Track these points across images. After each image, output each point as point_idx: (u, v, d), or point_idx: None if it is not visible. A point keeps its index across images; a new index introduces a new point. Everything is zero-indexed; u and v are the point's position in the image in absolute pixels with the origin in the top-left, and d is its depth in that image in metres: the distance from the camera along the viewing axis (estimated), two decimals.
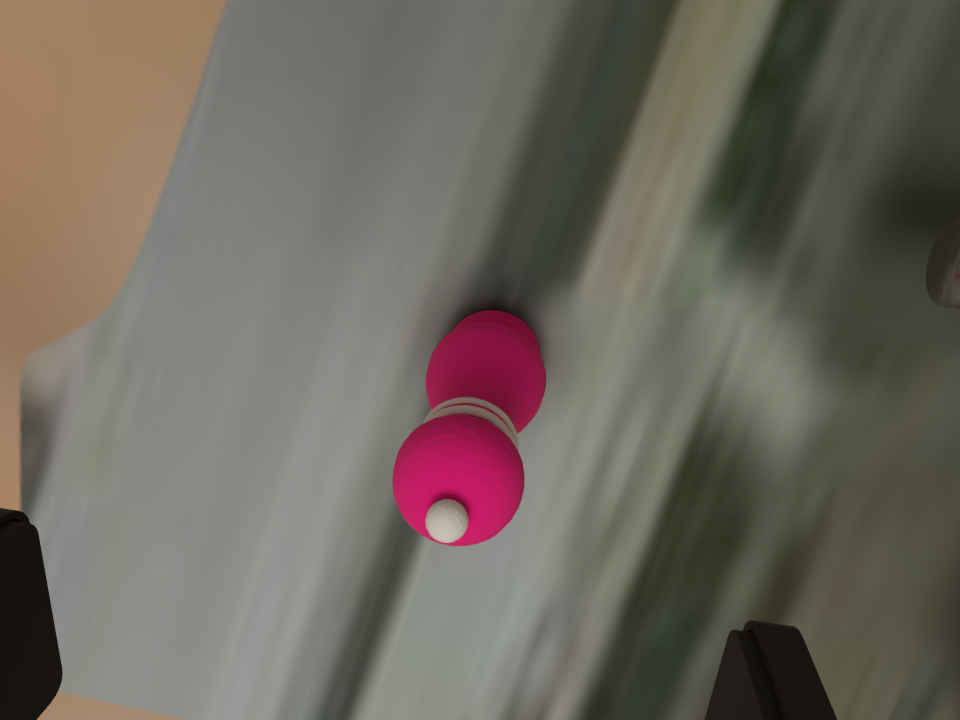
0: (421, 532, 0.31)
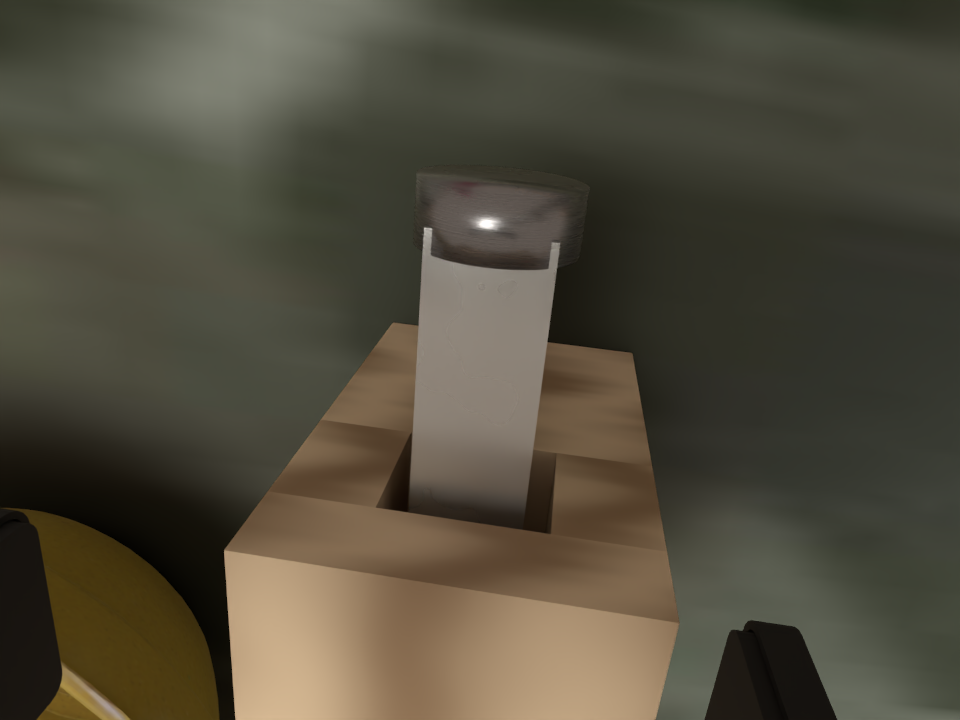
0: None
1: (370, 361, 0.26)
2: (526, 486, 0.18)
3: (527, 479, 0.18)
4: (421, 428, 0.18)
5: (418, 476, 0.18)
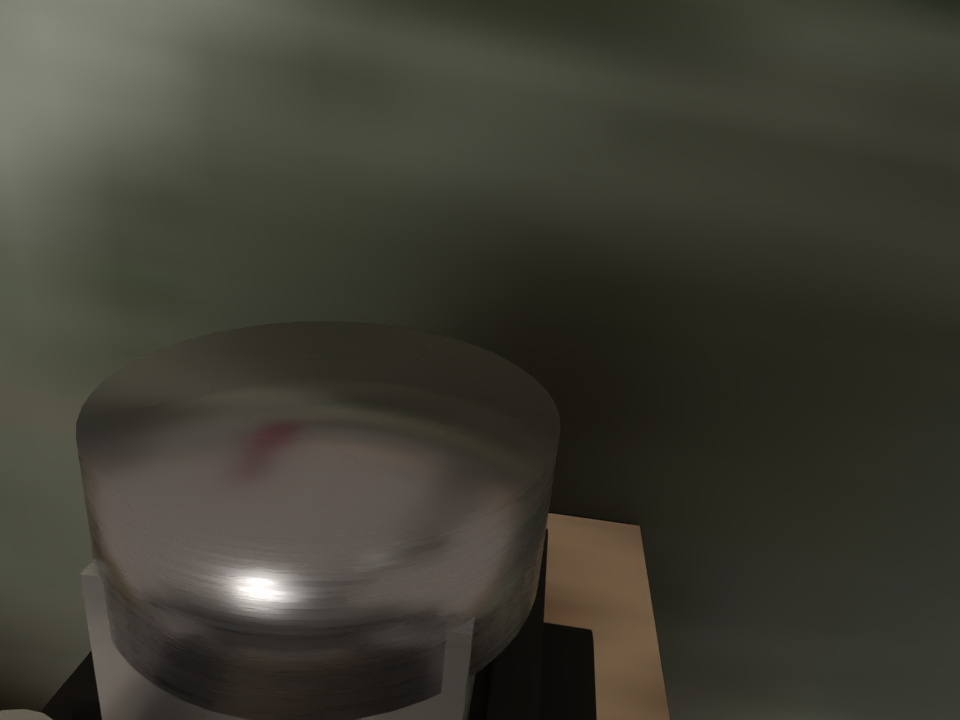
0: None
1: None
2: None
3: None
4: None
5: None
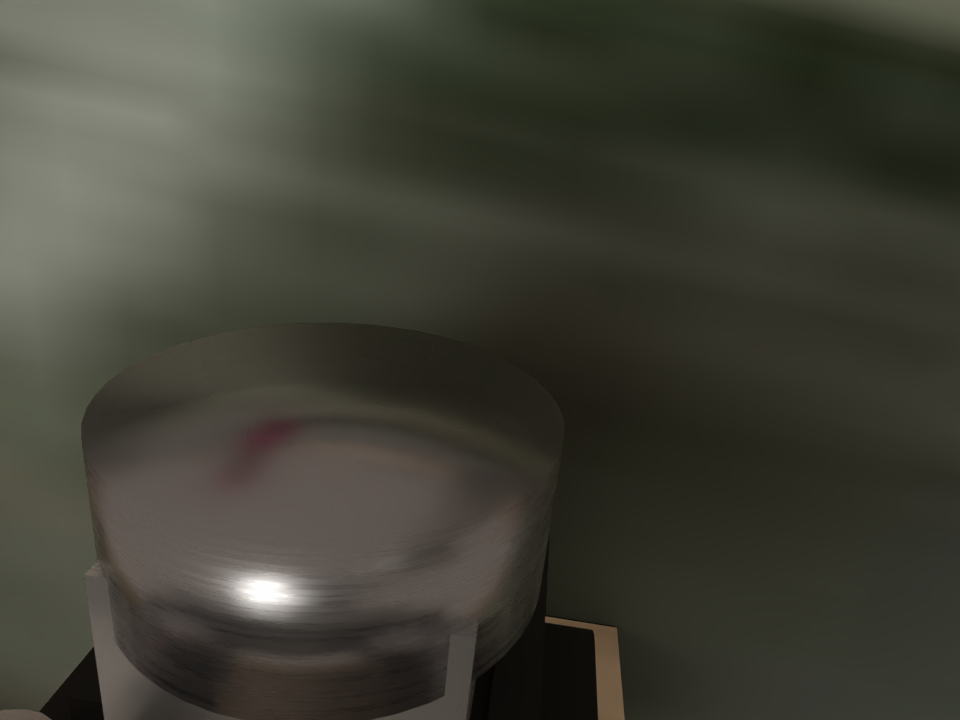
0: None
1: None
2: None
3: None
4: None
5: None
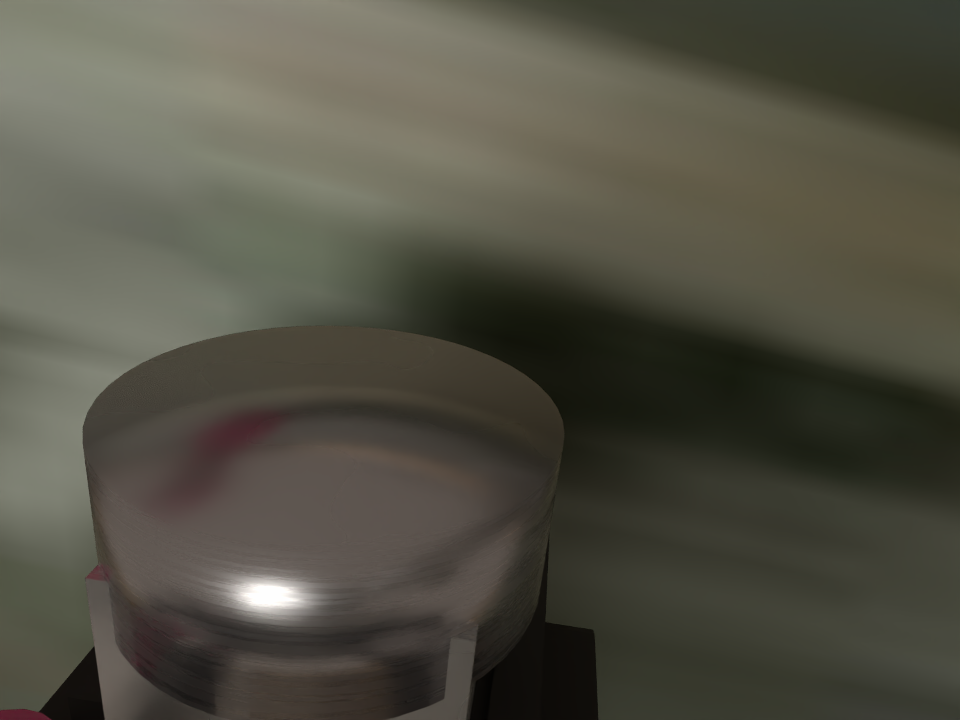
0: None
1: None
2: None
3: None
4: None
5: None
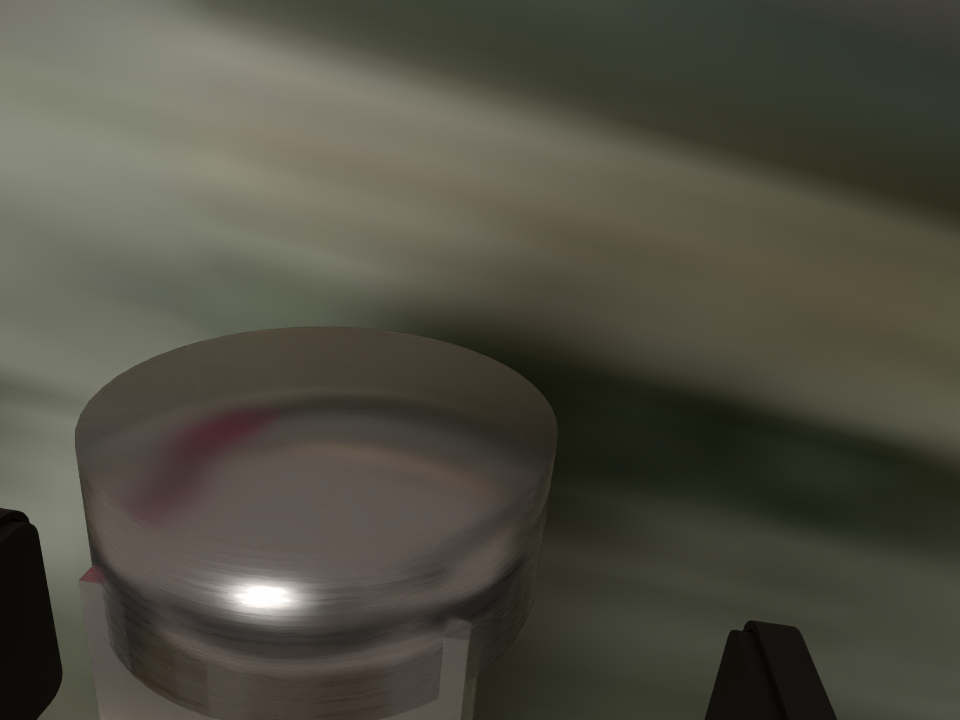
0: None
1: None
2: None
3: None
4: None
5: None
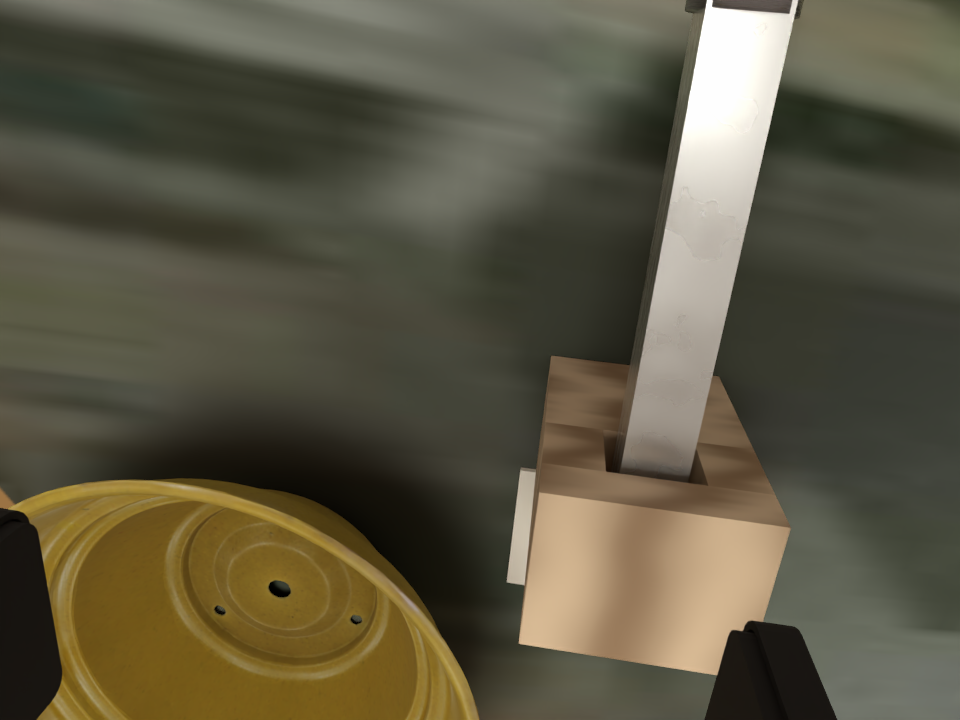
0: None
1: (552, 384, 0.39)
2: (755, 180, 0.27)
3: (757, 174, 0.26)
4: (687, 139, 0.26)
5: (680, 177, 0.27)
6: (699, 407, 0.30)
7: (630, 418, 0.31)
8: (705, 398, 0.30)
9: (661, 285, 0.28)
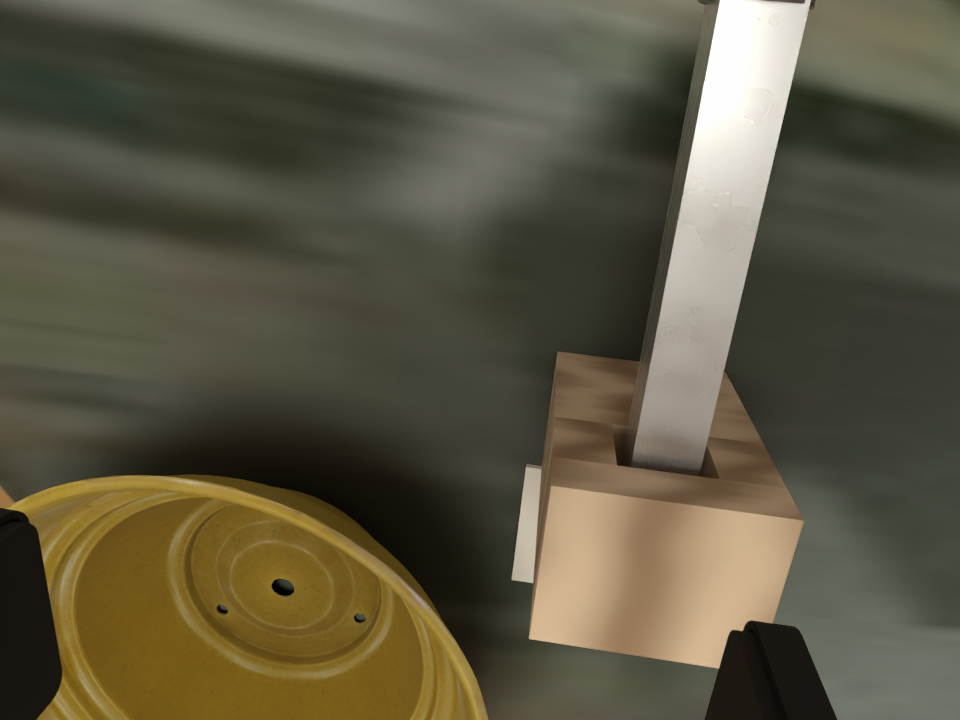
0: None
1: (560, 379, 0.39)
2: (769, 171, 0.26)
3: (770, 166, 0.26)
4: (701, 129, 0.26)
5: (693, 168, 0.27)
6: (711, 400, 0.30)
7: (641, 411, 0.31)
8: (717, 391, 0.30)
9: (673, 277, 0.28)
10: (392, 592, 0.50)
